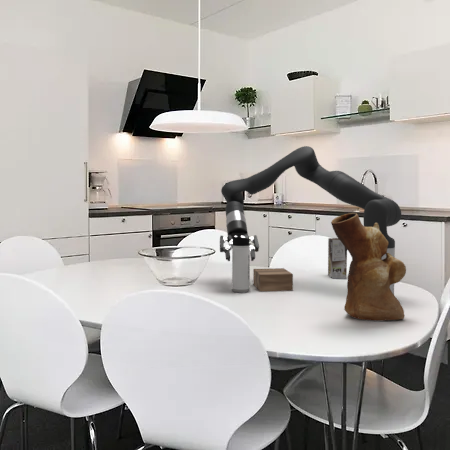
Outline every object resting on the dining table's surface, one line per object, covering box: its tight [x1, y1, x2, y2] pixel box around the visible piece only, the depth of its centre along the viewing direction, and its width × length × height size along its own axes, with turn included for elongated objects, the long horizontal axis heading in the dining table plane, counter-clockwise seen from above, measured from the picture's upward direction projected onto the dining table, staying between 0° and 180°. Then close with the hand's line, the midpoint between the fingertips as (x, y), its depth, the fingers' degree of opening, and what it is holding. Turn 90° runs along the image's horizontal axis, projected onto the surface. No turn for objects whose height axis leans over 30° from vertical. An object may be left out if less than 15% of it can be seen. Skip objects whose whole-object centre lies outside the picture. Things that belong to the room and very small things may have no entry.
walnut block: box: [252, 267, 294, 292], centre depth 194 cm, size 14×12×6 cm
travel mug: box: [231, 236, 251, 294], centre depth 186 cm, size 6×7×20 cm
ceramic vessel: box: [330, 212, 407, 322], centre depth 147 cm, size 16×22×30 cm
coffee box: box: [327, 237, 348, 279], centre depth 217 cm, size 9×6×16 cm
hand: (241, 259), depth 185 cm, fingers open, 8 cm apart
